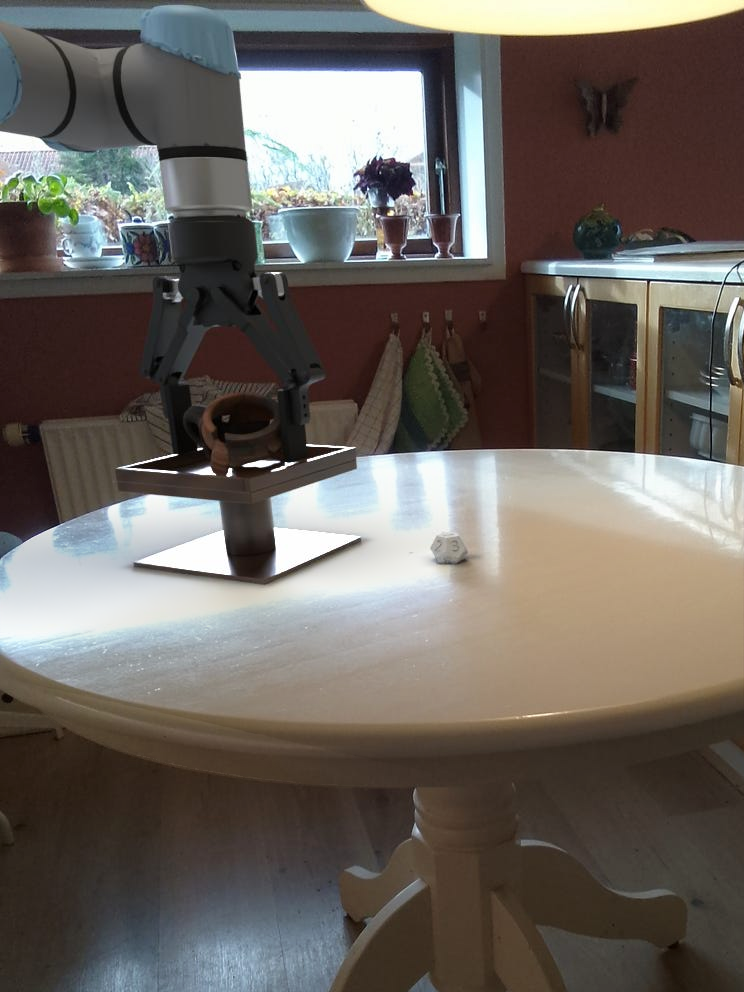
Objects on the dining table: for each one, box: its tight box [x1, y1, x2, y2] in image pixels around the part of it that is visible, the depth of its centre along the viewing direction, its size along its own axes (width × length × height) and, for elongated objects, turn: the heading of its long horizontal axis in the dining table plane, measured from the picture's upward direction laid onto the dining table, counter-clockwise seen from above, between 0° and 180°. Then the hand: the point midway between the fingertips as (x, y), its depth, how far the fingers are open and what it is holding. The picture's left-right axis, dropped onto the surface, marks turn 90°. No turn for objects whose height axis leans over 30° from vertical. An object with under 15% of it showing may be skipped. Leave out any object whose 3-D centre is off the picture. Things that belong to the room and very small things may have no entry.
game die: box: [429, 531, 469, 564], centre depth 89 cm, size 4×4×3 cm
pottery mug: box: [183, 391, 284, 476], centre depth 89 cm, size 12×10×8 cm
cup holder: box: [114, 444, 362, 586], centre depth 92 cm, size 16×17×10 cm
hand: (239, 456), depth 90 cm, fingers open, 13 cm apart
